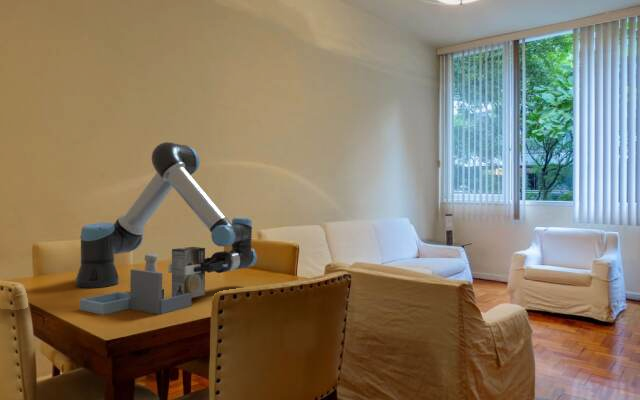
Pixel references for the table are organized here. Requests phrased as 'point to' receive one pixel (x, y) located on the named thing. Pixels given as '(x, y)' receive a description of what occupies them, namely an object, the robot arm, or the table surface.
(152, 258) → the salt shaker
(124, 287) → the table surface
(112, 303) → the tray
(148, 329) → the table surface
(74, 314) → the table surface
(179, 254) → the coffee box
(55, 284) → the table surface
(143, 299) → the bracket
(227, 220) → the robot arm
